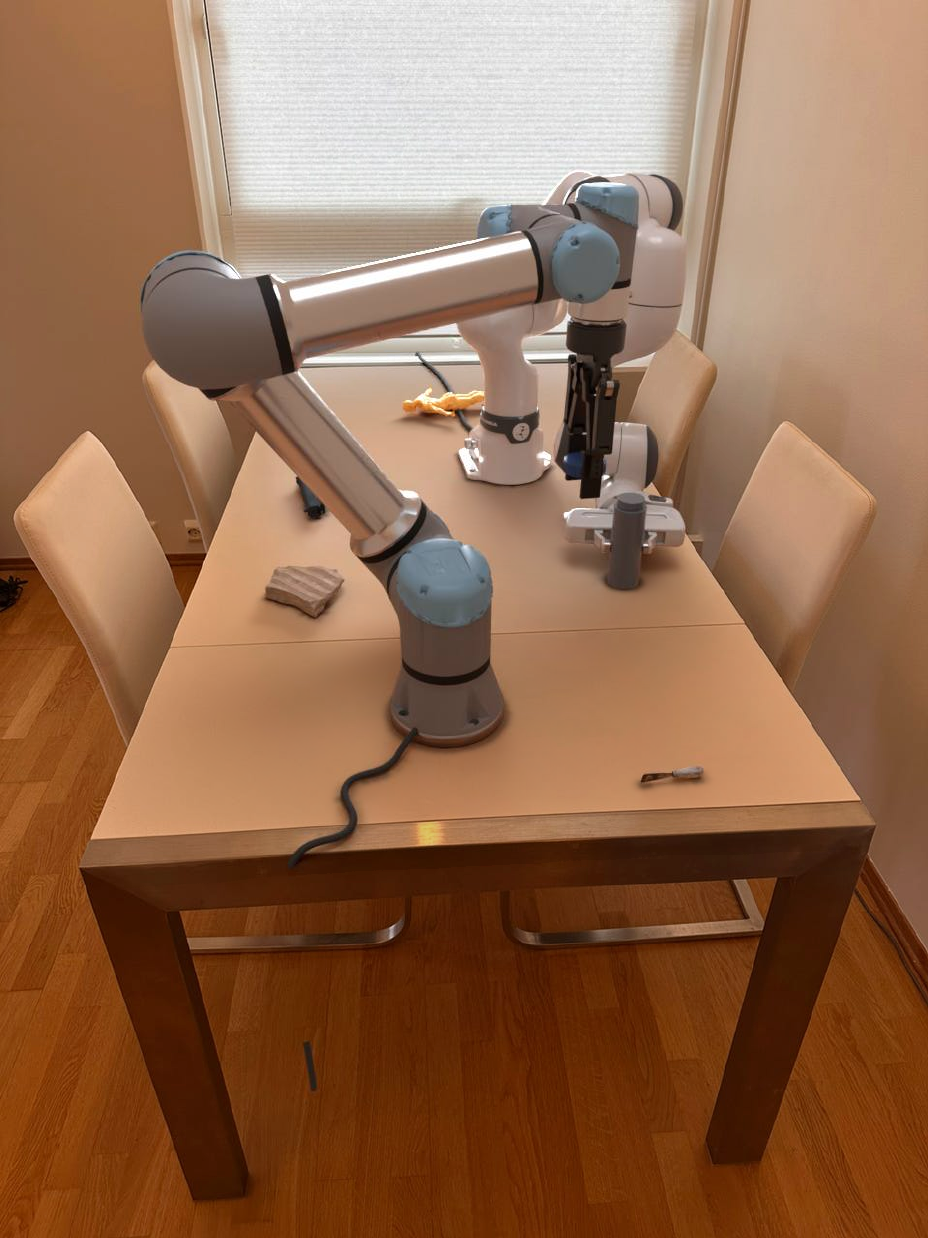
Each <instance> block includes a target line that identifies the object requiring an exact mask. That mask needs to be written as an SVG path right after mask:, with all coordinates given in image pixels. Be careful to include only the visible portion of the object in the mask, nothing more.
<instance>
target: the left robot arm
mask: <svg viewBox="0 0 928 1238" xmlns="http://www.w3.org/2000/svg"><path fill="white" fill-rule="evenodd" d="M638 216H639V194H638V191H637V190H636V188H634V187H633V186H631V185H627V184H620V183H585V184H582V185H580V186H579V188H578V190H577V195H576V198H575V202H574V203H569V204H551V205H542V204H512V203H507V204H506V205H505V204H504V205H494V206H492V205H491V206H488V207H486V208H485V209H484V210H483V211H482V212H481V214H480V217H479V219H478V221H477V228H476V239H475V240H471V241H466V242H461V243H456V244H452V245H447V246H443V247H439V248H434V249H429V250H425V251H420V252H416V253H410V254H406V255H401V256H397V257H393V258H388V259H383V260H379V261H375V262H374V261H373V262H370V263H366V264H361V265H355V266H351V267H347V268H343V269H337V270H334V271H329V272H323V273H320V274H314V275H310V276H305V277H301V278H296V279H291V280H287V281H284V280H282V279H280V278H278V277H277V276H276V275H274V274H272V273H267V274H263V275H258V276H254V277H253V276H252V277H243V278H242V277H241V275H240V274H239V273H238V271H237V270H236V269H235V268H234V267H233V265H231V264H230V263H229V262H226V261H225V260H224V259H222V258H220V257H218V256H216V255H214V254H212V253H209V252H205V251H201V250H191V249H190V250H181V251H178V252H174V253H171V254H169V255H167V256H166V257H164V258H163V259H161V260H159V261H158V263H156V265H154V267H153V268H152V269H151V271H150V272H149V274H147V276H146V278H145V280H144V282H143V284H142V287H141V292H140V296H139V304H140V312H141V316H142V323H141V324H142V326H141V327H142V334H143V340H144V342H145V345H146V348H147V351H148V353H149V354H150V356H151V358H152V359H153V361H154V362H155V363H156V365H157V366H158V367H159V369H161V370H162V372H164V373H165V374H166V375H168V376H169V377H170V378H172V379H174V380H175V381H177V382H179V383H181V384H183V385H185V386H188V387H192V388H197V389H198V390H199V391H200V392H201V393H202V394H203V395H204V396H205V398H207V399H208V400H209V401H214V402H219V401H220V402H227V403H229V404H230V405H231V406H232V407H233V408H234V409H235V411H236V412H237V413H238V414H239V415H240V416H241V417H242V418H243V419H244V420H245V421H246V422H247V423H248V425H249V426H250V427H251V428H252V429H253V430H254V431H255V432H256V433H257V434H258V435H259V437H261V439H262V440H263V441H264V442H265V443H266V444H267V445H268V446H269V447H270V448H271V449H272V451H273V452H274V453H275V454H276V455H277V456H278V457H279V459H281V460H282V462H283V463H285V464H286V465H287V467H288V468H289V469H290V470H291V471H292V472H293V473H294V474H295V475H296V477H297V476H298V477H299V478H300V479H301V480H302V482H303V483H304V484H305V485H306V486H307V487H308V488H309V489H310V490H311V491H312V492H313V493H314V494H315V496H316V497H317V498H318V499H319V500H320V501H321V502H322V503H323V504H324V505H325V508H326V509H327V510H328V511H329V513H331V514H332V515H333V516H334V517H335V518H336V519H337V520H338V522H339V523H340V524H341V525H342V526H343V527H344V528H345V529H346V530H347V532H349V534H350V538H349V548H350V550H351V553H353V555H354V556H355V557H356V558H357V559H358V560H359V561H360V562H361V563H362V564H363V565H364V566H365V567H366V568H367V569H368V571H370V572H371V574H372V575H373V576H374V577H375V578H376V579H377V581H379V583H380V584H381V586H382V588H383V589H384V591H385V592H386V595H387V597H388V599H389V601H390V604H391V606H392V608H393V610H394V612H395V614H396V616H397V619H398V620H397V621H398V624H399V633H400V634H399V635H400V655H401V667H400V669H399V672H398V675H397V678H396V681H395V684H394V687H393V690H392V693H391V696H390V700H389V706H390V718H391V721H392V724H393V725H394V727H395V728H396V729H397V731H398V732H399V733H400V734H402V735H403V736H404V737H405V738H404V739H403V740H402V741H401V743H400V744H399V746H398V747H397V749H396V750H395V752H394V754H393V755H392V756H391V758H390V759H389V760H388V761H386V762H385V763H384V764H381V765H379V766H377V767H374V768H370V769H366V770H363V771H360V772H357V773H354V774H353V775H350V776H349V777H347V778H346V780H345V781H344V782H343V784H342V786H341V788H340V798H341V801H342V803H343V805H344V807H345V809H346V811H347V814H348V817H349V820H348V823H347V825H346V826H345V827H344V828H343V829H342V830H339V831H338V832H336V833H332V834H328V835H324V836H321V837H317V838H314V839H311V840H308V841H307V842H304V843H303V844H302V845H300V846H299V847H298V848H297V849H296V850H295V851H294V852H293V853H292V855H291V856H290V858H289V860H288V862H287V864H286V866H287V868H290V869H291V868H294V867H295V866H297V863H298V862H299V860H300V859H301V858H302V857H303V855H305V854H306V853H307V852H309V851H310V850H312V849H315V848H319V847H321V846H325V845H329V844H332V843H336V842H340V841H342V840H343V839H346V838H347V837H348V836H350V835H351V834H352V833H353V831H354V830H355V828H356V827H357V822H358V814H357V811H356V809H355V806H354V805H353V803H352V801H351V799H350V796H349V789H350V788H351V787H352V785H353V784H355V783H356V782H358V781H362V780H364V779H367V778H370V777H371V778H372V777H375V776H378V775H381V774H384V773H386V772H387V771H389V770H391V769H392V768H393V767H394V766H395V765H396V764H397V763H398V762H399V760H400V759H401V758H402V756H403V754H404V752H405V751H406V749H407V748H408V747H409V746H410V744H411V743H412V741H413V742H415V743H417V744H420V745H421V744H422V745H425V746H430V747H437V748H454V747H455V748H457V747H463V746H467V745H471V744H473V743H476V742H480V741H481V740H483V739H485V738H486V737H488V736H489V735H491V734H492V733H493V732H494V731H495V730H496V729H498V727H499V726H500V724H501V722H502V720H503V717H504V696H503V693H502V690H501V687H500V685H499V682H498V679H497V677H496V674H495V672H494V668H493V666H492V664H491V654H492V653H491V651H492V649H491V648H492V608H493V607H492V603H493V602H492V601H493V593H494V585H493V578H492V571H491V567H490V565H489V562H488V560H487V558H486V557H485V556H484V554H482V552H481V551H479V550H478V549H477V548H476V547H474V546H473V545H470V544H463V542H462V541H460V540H457V539H454V537H453V536H452V534H451V533H450V532H451V531H450V530H449V528H448V526H447V525H446V523H445V521H444V520H443V519H442V518H441V517H440V516H439V515H438V514H436V513H435V512H433V510H431V509H430V508H429V506H427V504H426V503H425V502H424V501H423V499H422V498H421V497H420V496H419V495H418V494H417V493H416V492H414V491H411V490H399V488H397V486H396V485H395V484H394V483H393V482H392V480H391V479H390V478H389V477H388V476H387V474H386V473H385V472H384V471H383V470H382V468H381V467H380V466H379V465H378V464H377V463H376V461H375V460H374V459H373V458H372V457H371V455H370V454H369V453H368V451H366V449H365V448H364V447H363V445H361V444H360V443H359V441H358V440H357V439H356V438H355V436H354V435H353V434H352V433H351V432H350V431H349V430H348V428H347V427H346V426H345V424H344V423H342V421H341V420H340V419H339V418H338V416H337V415H336V414H335V413H334V412H333V410H332V409H331V408H330V407H329V406H328V405H327V404H326V402H325V400H324V399H323V398H322V397H321V396H320V395H319V394H318V393H317V391H316V390H315V389H314V388H313V387H312V386H311V384H310V383H309V382H308V381H307V380H306V378H305V377H304V376H303V375H302V374H301V372H299V370H300V369H301V366H302V365H303V363H304V362H305V360H308V359H313V358H315V357H319V356H324V355H328V354H332V353H337V352H341V351H345V350H350V349H353V348H357V347H362V346H366V345H370V344H374V343H378V342H383V341H387V340H391V339H395V338H400V337H404V336H409V335H413V334H416V333H421V332H425V331H429V330H433V329H438V328H441V327H446V326H450V325H454V324H456V323H459V322H463V321H467V320H471V319H476V318H480V317H484V316H488V315H492V314H497V313H501V312H505V311H509V310H513V309H518V308H522V307H526V306H530V305H534V304H539V303H544V302H549V301H553V300H557V299H562V298H563V299H564V300H566V301H568V310H567V315H569V317H570V318H569V319H568V320H567V322H566V324H567V325H566V338H565V347H566V349H567V350H568V351H569V352H571V353H569V354H568V356H567V381H566V391H565V401H564V402H565V403H564V410H563V411H564V413H563V419H564V420H563V419H562V422H563V421H564V424H565V425H568V427H567V431H568V434H570V435H569V436H568V449H567V454H569V453H573V452H581V453H582V455H583V463H582V474H581V478H576V477H572V476H569V475H567V474H566V473H564V474H565V475H564V480H565V481H566V482H567V481H568V482H569V481H571V482H572V481H580V486H579V487H580V489H579V498H580V500H588V499H595V498H600V492H601V482H602V472H603V463H604V455H610V454H612V449H613V437H614V425H615V422H616V414H617V413H616V411H617V400H618V395H619V390H620V388H621V387H620V386H621V384H620V380H619V379H613V368H611V357H612V356H614V355H615V354H619V353H621V352H622V351H623V349H624V346H625V337H626V327H627V324H626V323H625V321H624V320H623V319H624V318H626V317H627V314H628V305H629V298H631V297H632V295H633V292H632V291H631V290H630V286H631V278H632V269H633V260H634V252H635V243H636V234H637V230H638V227H639V225H638ZM594 394H595V396H594ZM583 433H586V434H583ZM582 434H583V435H582ZM302 1047H303V1053H304V1059H305V1063H306V1069H307V1075H308V1082H309V1089H310V1091H311V1092H316V1091H317V1090H318V1083H317V1077H316V1076H317V1075H316V1069H315V1063H314V1057H313V1052H312V1047H311V1040H308V1041H304V1042H302Z"/></svg>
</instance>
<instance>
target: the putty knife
mask: <svg viewBox="0 0 928 1238" xmlns="http://www.w3.org/2000/svg"><path fill="white" fill-rule="evenodd" d="M704 772H705V771H704V768H702V767H701V766H697V765H695V766H688V767H683V768H679V769H675V770H673V771H671V772H653V773H652V772H651V773H650V772H649V773H644V774H642V776H641V779H640V783H642V784H645V783H648V782H653V781H659V780H665V779H668V778H673V779H674V778H675V779H693V778H694V779H695V778H700V777H702V776H703V775H704Z"/></svg>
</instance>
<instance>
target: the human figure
mask: <svg viewBox="0 0 928 1238" xmlns="http://www.w3.org/2000/svg"><path fill="white" fill-rule="evenodd" d="M424 391H425V392H423V393H422V394H420V395H418V396H416V398H415V399H414V400H404V401H403V402H402V411H404V412H405V413H410V414H412V413H414V412H417V408H418V409H420V410H421V411H423V412H424V413H427V414H439V415H443V416H444V417H449V416H450V417H451V418H452V417H453V418H454V417H455V416H456V414H455V411H457V409H461V411H462V410H464V409H467V408H469V407H471V406H473V405H476V404H478V403H481V402H484V391H478V390H473V391H470V392H469V393H468V394H460V393H457V394H455V393H454V392H453V393H454V394H453V393H449V392H446V393H444V394H443V395H442V396H441V397H440V398H434V397H429V396H430V395H432V394H433V392H434V391H433V389H432V385H429V387H428V389H424ZM450 410H452V411H450Z"/></svg>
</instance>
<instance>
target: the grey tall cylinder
mask: <svg viewBox="0 0 928 1238" xmlns="http://www.w3.org/2000/svg"><path fill="white" fill-rule="evenodd" d="M646 514H647V505H646V504H645V498H644V496H642V495H640V494H637V493H622V494H620V495H618V497H617V502H615V503H614V507H613V518H612V529H611V540H610V542H611V548H610V552H608V563H607V572H606V573H607V574H606V575H607V576H606V583H607V584H608V585H609V586H610V587H612V588H615V589H618V590H632V589H635V588H636V587H637V586H638V585H640V584H639V583H640V574H641V565H642V558H643V557H642V556H643V554H642V549H643V540H644V531H645V522H646Z"/></svg>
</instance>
